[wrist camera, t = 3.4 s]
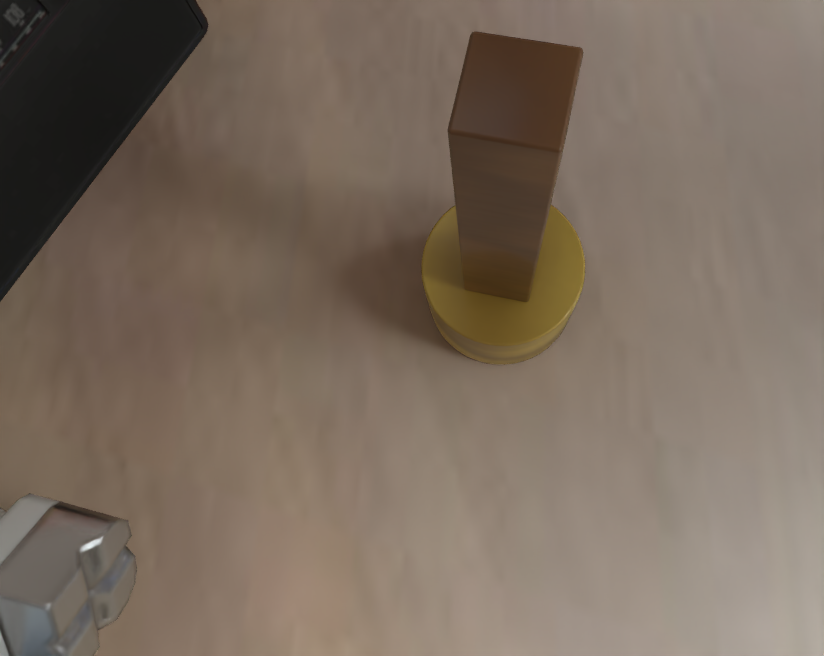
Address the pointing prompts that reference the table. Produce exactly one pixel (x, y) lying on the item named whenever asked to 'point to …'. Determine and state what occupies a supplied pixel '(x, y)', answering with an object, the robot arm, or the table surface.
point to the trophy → (506, 204)
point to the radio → (75, 101)
